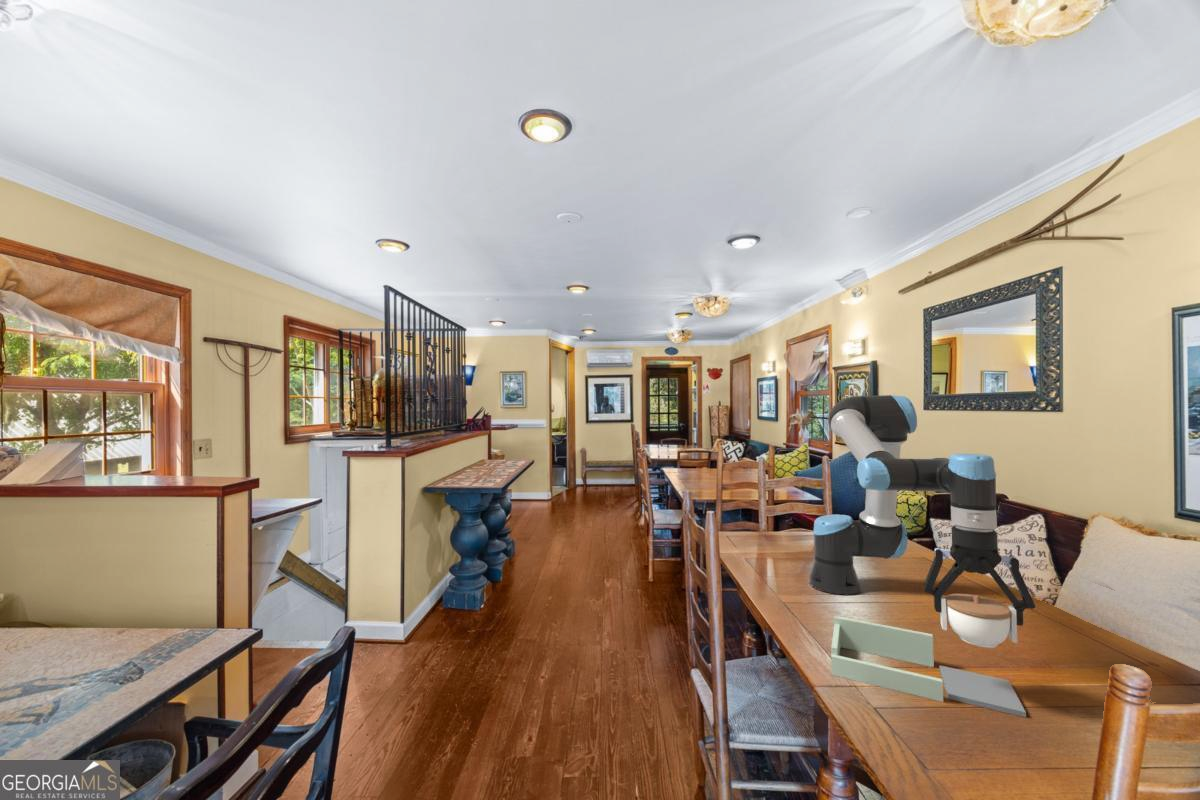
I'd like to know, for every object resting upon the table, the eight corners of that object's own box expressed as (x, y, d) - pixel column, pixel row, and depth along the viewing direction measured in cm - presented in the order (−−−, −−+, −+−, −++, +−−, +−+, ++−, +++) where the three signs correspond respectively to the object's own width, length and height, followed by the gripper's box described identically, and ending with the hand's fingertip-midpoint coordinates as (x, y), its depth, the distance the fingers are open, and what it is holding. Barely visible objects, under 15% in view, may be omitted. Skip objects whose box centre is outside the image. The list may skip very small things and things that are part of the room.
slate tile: (939, 669, 104) (939, 665, 104) (1008, 684, 98) (1008, 680, 98) (948, 698, 94) (947, 693, 94) (1026, 717, 88) (1025, 712, 88)
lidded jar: (1026, 656, 90) (1024, 607, 90) (963, 651, 92) (962, 603, 92) (991, 630, 100) (989, 587, 100) (936, 627, 102) (934, 584, 103)
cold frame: (835, 643, 116) (834, 615, 116) (933, 664, 106) (932, 634, 106) (831, 674, 103) (830, 642, 103) (943, 702, 93) (942, 666, 93)
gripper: (909, 525, 99) (912, 628, 99) (1054, 538, 88) (1059, 655, 87) (906, 518, 106) (909, 615, 105) (1041, 530, 94) (1045, 638, 94)
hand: (977, 633), depth 96 cm, fingers closed on lidded jar, 11 cm apart
